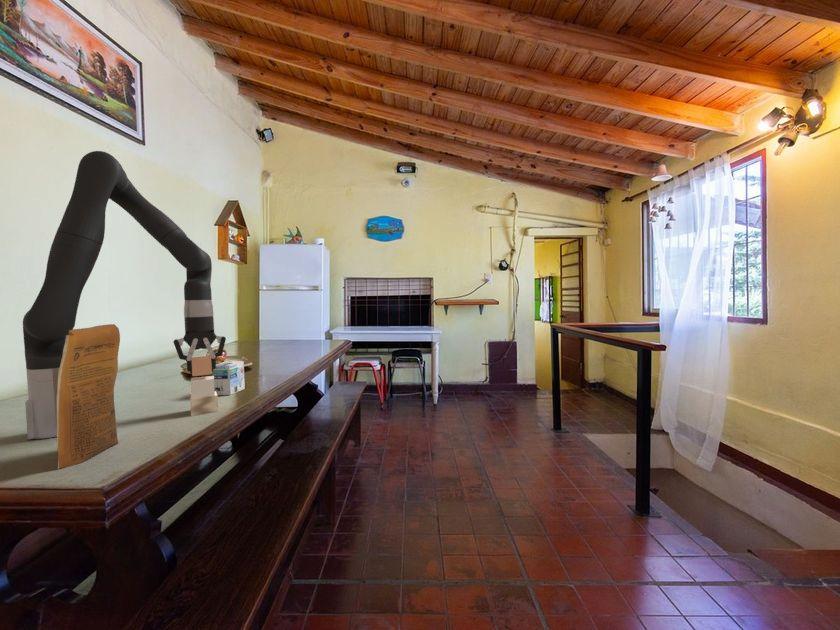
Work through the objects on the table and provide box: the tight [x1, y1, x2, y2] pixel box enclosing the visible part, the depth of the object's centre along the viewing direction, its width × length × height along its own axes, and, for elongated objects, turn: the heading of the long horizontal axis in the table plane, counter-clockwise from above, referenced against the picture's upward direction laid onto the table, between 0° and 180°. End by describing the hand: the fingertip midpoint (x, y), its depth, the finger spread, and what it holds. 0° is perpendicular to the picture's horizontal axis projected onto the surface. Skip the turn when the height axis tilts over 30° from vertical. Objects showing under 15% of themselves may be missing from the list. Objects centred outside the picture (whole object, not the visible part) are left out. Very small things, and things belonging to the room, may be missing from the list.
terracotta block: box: [191, 355, 212, 377], centre depth 113 cm, size 5×5×5 cm
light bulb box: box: [211, 360, 246, 396], centre depth 138 cm, size 11×7×11 cm, turn 179°
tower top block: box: [189, 375, 215, 399], centre depth 113 cm, size 6×6×5 cm
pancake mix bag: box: [56, 323, 121, 470], centre depth 82 cm, size 7×19×28 cm, turn 7°
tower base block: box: [189, 391, 219, 417], centre depth 113 cm, size 7×7×5 cm
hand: (201, 371), depth 113 cm, fingers closed on terracotta block, 4 cm apart
